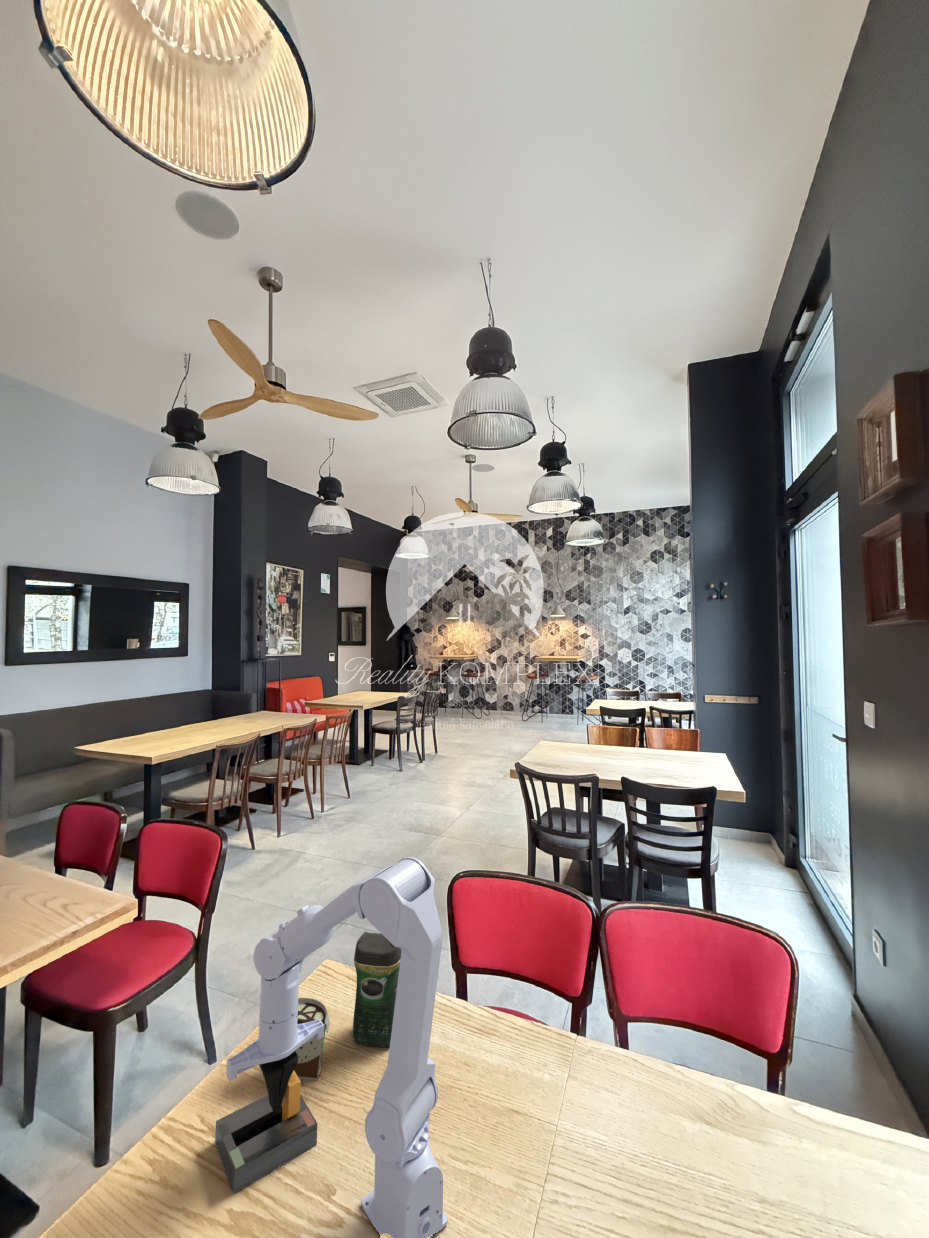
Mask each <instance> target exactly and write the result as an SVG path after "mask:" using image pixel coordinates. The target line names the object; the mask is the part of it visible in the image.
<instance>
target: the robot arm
mask: <svg viewBox="0 0 929 1238" xmlns="http://www.w3.org/2000/svg"><path fill="white" fill-rule="evenodd" d="M435 885H436V879H435V878H434V876H433V875H432V874H431V873H430V870H429V869H428V868H427V866H426V865H425V864H424V863H423V862H422V861H421V860H420V859H418V858H417V857H414V856H406V857H403V858H401V859H400V860H399V861H398V862H397V863H395V864H390V865H387V866H386V867H383V868H382V869H379V870H377V871H376V872H374V873H372V874H370V875H368V876H366V877H364V878H362V879H361V880H359V881H357V882H356V883H354V884H353V885H351V886H349V887H348V888H347V889H346V890H345V891H344V892H342V893H341V894H339V895H338V896H337V897H335V898H334V899H333V900H332V901H330V902H329V903H328V904H327V905H325V906H322V905H318V904H315V905H311V906H309V905H308V904H306V905H304V906H303V907H301V908H300V909H298V910H297V911H296V914H297V916H295V917H294V918H293V919H291V920H290V921H288V920H284V922H282V923H281V924H279V925H278V930H277V931H275V932H273V933H272V934H269V935H268V936H267V937H262V938H261V939H260V940H259V942H258V943H256V946H255V947H254V950H253V963H254V967H255V970H256V972H257V973H258V974H259V976H260V992H259V993H260V994H259V996H260V998H259V1018H258V1019H259V1023H258V1038H257V1039H256V1040H255V1041H253V1042H252V1043H251V1044H249V1045H248V1046H247V1047H246V1048H244V1049H243V1050H241V1051H240V1052H239V1053H237V1054H236V1055H234V1056H232V1057H229V1058H228V1059H227V1060H226V1070H225V1072H226V1077H228V1078H227V1079H228V1081H229V1082H233V1080H236V1079H237V1078H238V1075H239V1074H242V1073H244V1072H245V1071H248V1070H250V1069H252V1068H254V1067H256V1066H259V1068H260V1071H261V1073H262V1076H263V1078H264V1080H265V1084H266V1088H267V1095H268V1096H269V1104H270V1106H271V1107H272V1109H273V1111H275V1110H277V1109H278V1108H280V1107H281V1106H282V1101H283V1097H284V1094H285V1090H286V1087H287V1084H288V1082H289V1079H290V1077H291V1075H292V1073H293V1071H294V1069H295V1067H296V1066H297V1064H298V1055H297V1053H296V1052H295V1050H297V1049H298V1048H299V1047H300V1046H301V1045H303V1044H304V1043H306V1042H308V1041H310V1040H312V1039H314V1038H316V1039H321V1038H323V1037H324V1024H323V1023H322V1022H321V1020H320V1019H317V1020H314V1021H311V1022H307V1023H302V1024H298V1025H297V1021H298V998H299V992H300V991H299V989H300V987H299V986H300V974H301V971H302V970H303V962H304V960H305V958H307V957H308V956H310V955H311V954H312V953H314V952H316V951H317V950H319V949H320V948H322V947H323V946H324V945H326V944H327V943H329V942H330V940H331V938H332V937H333V934H334V929H335V927H336V926H337V925H339V924H341V923H342V922H344V921H345V920H346V919H348V918H350V917H352V916H353V915H355V914H357V916H358V917H359V919H360V920H364V919H367V921H368V922H369V923H370V925H372V926H373V927H374V928H375V929H376V930H377V931H378V932H379V933H381V934H382V935H383V936H384V937H385V938H387V939H388V940H389V941H390V942H391V943H392V944H393V945H394V946H395V947H399V948H401V960H400V968H399V976H398V984H397V992H396V1000H395V1008H394V1016H393V1024H392V1032H391V1040H390V1046H389V1047H388V1048H389V1049H388V1058H387V1064H386V1069H385V1070H384V1073H383V1075H382V1077H381V1079H380V1081H379V1083H378V1087H377V1089H376V1091H375V1092H374V1098H373V1103H372V1104H373V1105H372V1107H371V1108H370V1110H369V1111H368V1112H367V1114H366V1116H365V1120H364V1134H365V1139H366V1140H367V1143H368V1146H369V1148H370V1149H371V1152H372V1153H373V1154H374V1190H372V1191H371V1192H369V1193H368V1194H367V1195H365V1196H364V1197H363V1198H362V1199H361V1207H362V1209H363V1210H364V1213H365V1214H366V1216H367V1217H368V1219H369V1221H370V1223H371V1225H372V1226H373V1228H374V1227H375V1228H376V1229H375V1228H374V1229H375V1231H376V1230H377V1231H378V1232H379V1233H380V1234H381V1235H382V1234H383V1233H387V1234H390V1235H391V1237H393V1238H427V1237H430V1236H431V1235H433V1234H435V1233H436V1234H437V1233H438V1232H440V1231H441V1230H442V1229H443V1228H444V1227H446V1226H447V1225H448V1223H449V1222H448V1221H449V1218H448V1216H447V1214H446V1213H445V1212H444V1177H443V1172H442V1170H441V1167H439V1164H438V1163H437V1161H436V1160H435V1157H434V1154H433V1153H432V1148H431V1143H430V1138H429V1137H430V1135H429V1134H430V1128H429V1127H430V1126H429V1125H430V1116H431V1115H430V1112H432V1111H433V1109H434V1108H435V1107H436V1105H437V1102H438V1100H439V1089H438V1085H437V1081H436V1062H435V1061H433V1059H432V1058H431V1057H430V1056H429V1054H430V1053H429V1051H430V1043H431V1034H432V1026H433V1020H434V1019H433V1018H434V1010H435V1002H436V995H437V987H438V986H437V984H438V979H439V969H440V961H441V952H442V945H443V929H442V925H441V921H440V917H439V911H438V908H437V904H436V900H435V895H434V892H435ZM439 1230H440V1231H439ZM377 1231H376V1232H377ZM436 1234H435V1235H436Z"/></svg>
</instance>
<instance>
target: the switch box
mask: <svg viewBox="0 0 929 1238" xmlns="http://www.w3.org/2000/svg"><path fill="white" fill-rule="evenodd" d="M214 1134H215V1136H214V1143H215V1147H216V1149H217V1152H218V1155H219V1158H220V1160H221V1164H222V1165H223V1169H224V1171H225V1175H226V1177H227V1180H228V1183H229V1186H230V1188H231V1192H232V1194H233V1195H235V1194H238V1193H239V1192H240V1191H242V1190H244V1189H246V1188H247V1187H249V1186H250V1185H249V1184H251V1183H252V1182H254V1181H256V1180H257V1181H259V1180H261V1179H262V1178H264V1177H265V1176H267V1175H269V1174H271V1173H272V1172H274V1171H275V1170H277V1169H279V1168H280V1167H282V1166H283V1165H285V1164H287V1163H289V1162H290V1161H292V1160H293V1159H295V1158H297V1157H298V1156H300V1155H302V1154H304V1153H305V1152H307V1151H309V1150H310V1149H311V1148H313V1147H316V1145H318V1144H317V1143H318V1121H317V1120H316V1119H315V1117H314V1115H313V1113H312V1111H311V1110H310V1108H309V1106H308V1105H307V1104H306V1101H305V1100H304V1098H303V1096H302V1094H300V1112H298V1113H297V1114H295V1115H294V1116H292V1117H290V1118H288V1119H286V1120H284V1121H283V1122H282V1106H281V1107H280V1108H278V1109H277V1110H275V1111H273V1109H272V1107H271V1106H270V1104H269V1096H268V1094H266V1095H264V1096H263V1097H261V1098H259V1099H257V1100H254V1101H253V1102H251V1103H248V1104H246V1105H245V1106H242V1107H241V1108H239V1109H237V1110H235V1111H233V1112H231V1113H229V1114H227V1115H225V1116H222V1117H221V1118H219V1119H217V1120H216V1121H215V1133H214ZM284 1163H285V1164H284ZM281 1165H282V1166H281ZM279 1166H280V1167H279ZM278 1167H279V1168H278ZM273 1170H274V1171H273ZM268 1173H269V1174H268ZM266 1174H267V1175H266ZM264 1175H265V1176H264ZM263 1176H264V1177H263ZM261 1177H262V1178H261ZM260 1178H261V1179H260ZM258 1179H259V1180H258ZM257 1181H256V1182H257ZM254 1183H255V1182H254ZM252 1184H253V1183H252ZM252 1184H251V1185H252ZM248 1185H249V1186H248Z"/></svg>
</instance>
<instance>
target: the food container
mask: <svg viewBox="0 0 929 1238" xmlns="http://www.w3.org/2000/svg"><path fill="white" fill-rule="evenodd" d="M317 1019H320V1020H321V1022H322V1023H323V1024H324V1037H323V1038H321V1039H316V1038H314V1039H312V1040H310V1041H308V1042H306V1043H304V1044H303V1045H301V1046H300V1047H299V1048H298V1049H297V1050H295V1052H296V1053H297V1055H298V1064H297V1066H296V1067H295V1069H294V1071H295V1073H296V1074H297V1076H298V1078H299V1079H300V1080H311V1081H319V1079H320V1076H321V1068H322V1060H323V1053H324V1044H325V1037H326V1033H328V1032H329V1030H330V1015H329V1013H328V1009H327V1007H326V1006H325V1004H324V1003H323V1002H321V1001H319V1000H318V999H315V998H312V997H298V1021H297V1025H298V1024H302V1023H307V1022H311V1021H314V1020H317Z"/></svg>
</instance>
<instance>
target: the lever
mask: <svg viewBox="0 0 929 1238" xmlns="http://www.w3.org/2000/svg"><path fill="white" fill-rule="evenodd" d="M301 1086H302V1082H301V1079H299V1078H298V1076H297V1074H296V1073H295V1071H293V1073H292V1075H291V1077H290V1079H289V1082H288V1084H287V1087H286V1090H285V1094H284V1097H283V1101H282V1122H283V1121H284V1120H286V1119H288V1118H290V1117H292V1116H294V1115H295V1114H297V1113H298V1112H300V1095H301Z"/></svg>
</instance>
